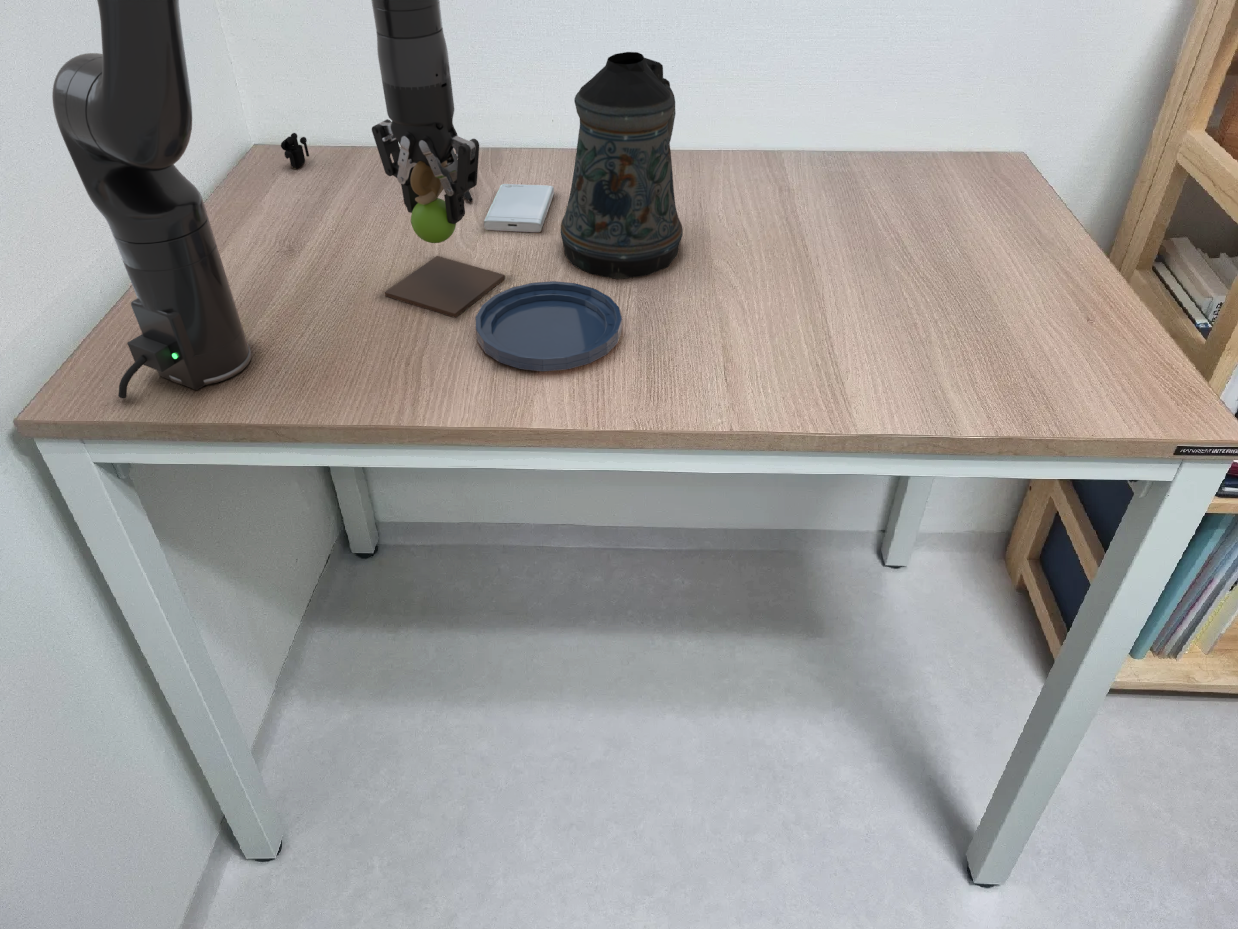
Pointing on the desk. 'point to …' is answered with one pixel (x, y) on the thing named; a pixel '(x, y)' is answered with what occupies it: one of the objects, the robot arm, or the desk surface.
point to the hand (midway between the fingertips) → (435, 215)
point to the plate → (548, 326)
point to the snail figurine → (429, 206)
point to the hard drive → (519, 208)
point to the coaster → (445, 286)
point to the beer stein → (623, 173)
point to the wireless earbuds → (295, 150)
